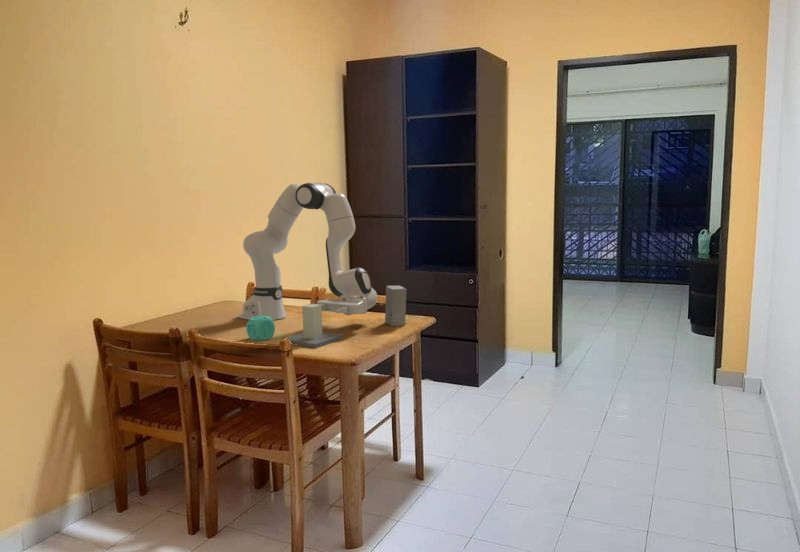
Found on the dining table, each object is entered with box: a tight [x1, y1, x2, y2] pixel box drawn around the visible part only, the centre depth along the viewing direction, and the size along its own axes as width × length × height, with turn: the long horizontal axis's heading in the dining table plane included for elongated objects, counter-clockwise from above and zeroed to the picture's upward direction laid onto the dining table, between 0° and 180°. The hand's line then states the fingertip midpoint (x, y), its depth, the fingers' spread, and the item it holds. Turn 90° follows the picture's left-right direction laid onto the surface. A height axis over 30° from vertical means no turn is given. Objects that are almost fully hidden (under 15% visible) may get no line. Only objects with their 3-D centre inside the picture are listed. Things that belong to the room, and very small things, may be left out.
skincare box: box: [384, 285, 407, 327], centre depth 255 cm, size 8×7×16 cm
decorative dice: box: [245, 316, 276, 342], centre depth 236 cm, size 8×8×8 cm
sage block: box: [301, 303, 323, 339], centre depth 230 cm, size 5×5×12 cm
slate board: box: [287, 331, 344, 349], centre depth 231 cm, size 16×16×2 cm
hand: (327, 310), depth 237 cm, fingers open, 8 cm apart
